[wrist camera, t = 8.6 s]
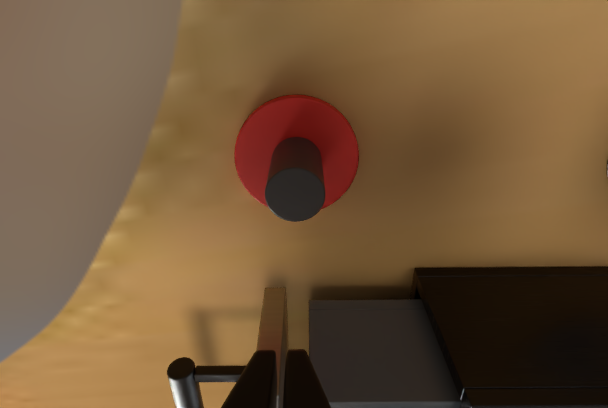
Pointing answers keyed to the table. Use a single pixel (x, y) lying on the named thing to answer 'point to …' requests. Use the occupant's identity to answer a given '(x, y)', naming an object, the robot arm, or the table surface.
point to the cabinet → (521, 333)
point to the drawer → (345, 355)
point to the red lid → (296, 155)
